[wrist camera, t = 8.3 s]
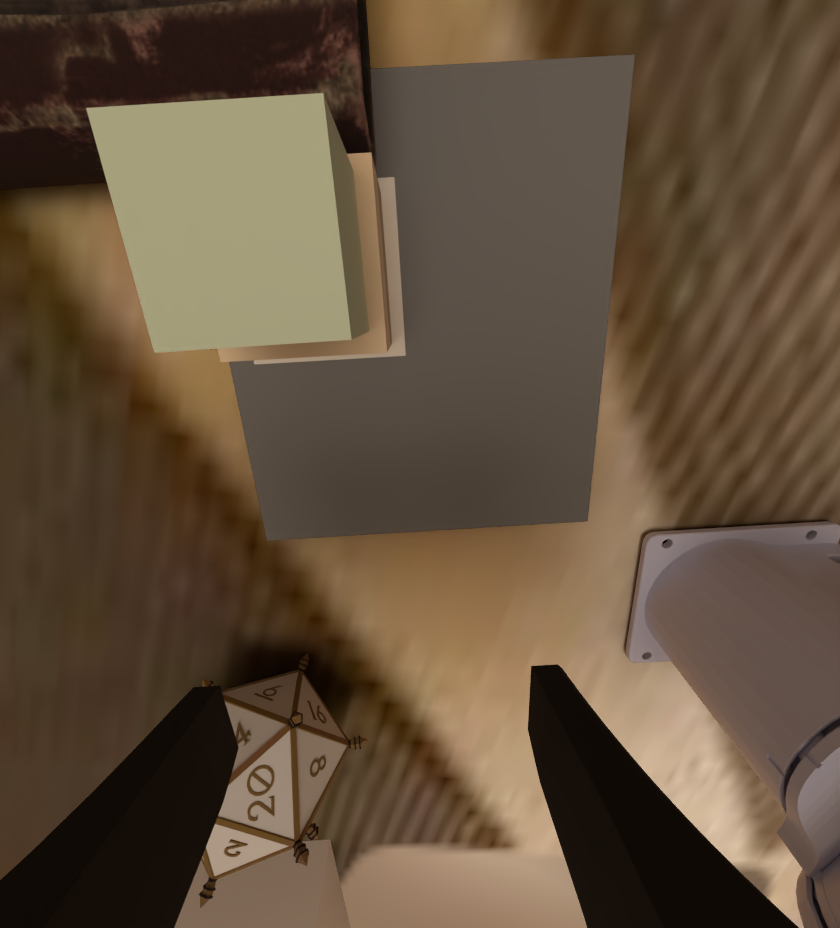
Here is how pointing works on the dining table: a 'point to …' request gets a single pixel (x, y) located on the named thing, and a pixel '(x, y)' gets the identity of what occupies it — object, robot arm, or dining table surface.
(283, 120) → the sage cube
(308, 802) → the game die
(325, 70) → the diary
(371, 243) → the beech block
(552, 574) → the dining table surface
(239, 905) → the milk
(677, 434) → the dining table surface
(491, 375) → the mat
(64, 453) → the dining table surface
